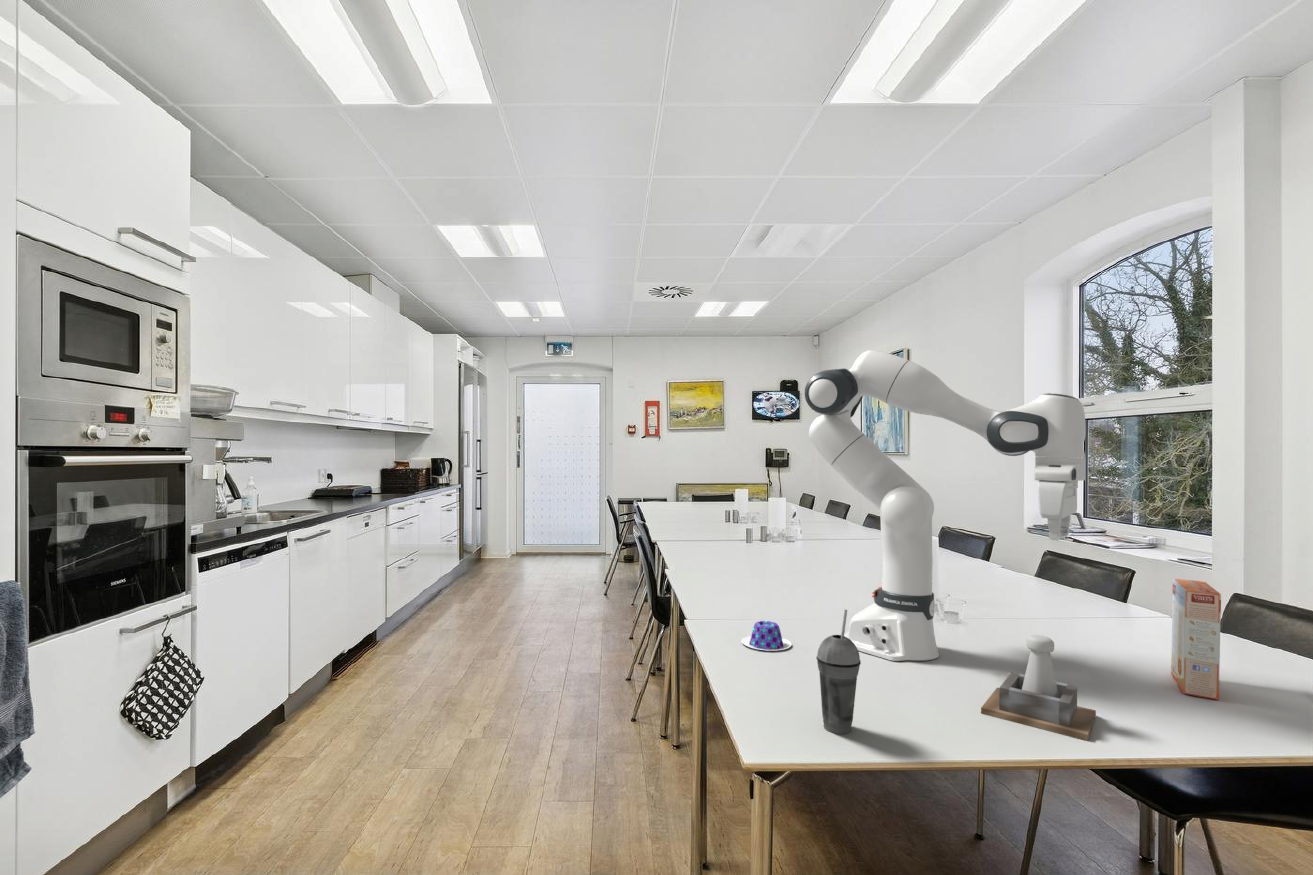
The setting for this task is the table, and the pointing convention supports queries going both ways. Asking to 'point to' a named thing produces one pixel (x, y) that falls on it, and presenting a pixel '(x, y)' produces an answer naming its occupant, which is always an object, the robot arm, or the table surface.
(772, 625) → the pudding
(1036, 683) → the salt shaker
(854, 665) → the beverage cup
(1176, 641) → the cracker box
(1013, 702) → the socket block
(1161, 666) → the table surface
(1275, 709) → the table surface
